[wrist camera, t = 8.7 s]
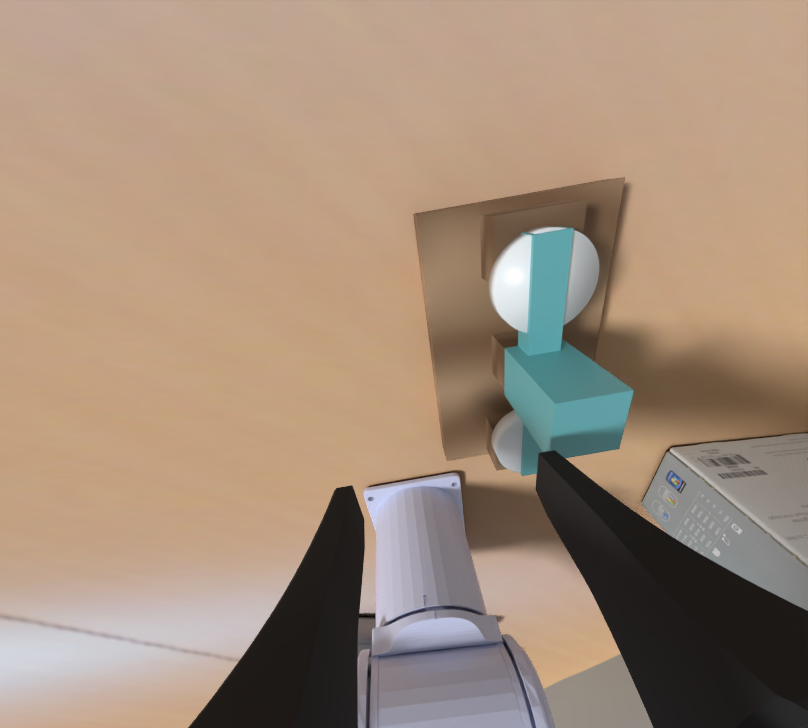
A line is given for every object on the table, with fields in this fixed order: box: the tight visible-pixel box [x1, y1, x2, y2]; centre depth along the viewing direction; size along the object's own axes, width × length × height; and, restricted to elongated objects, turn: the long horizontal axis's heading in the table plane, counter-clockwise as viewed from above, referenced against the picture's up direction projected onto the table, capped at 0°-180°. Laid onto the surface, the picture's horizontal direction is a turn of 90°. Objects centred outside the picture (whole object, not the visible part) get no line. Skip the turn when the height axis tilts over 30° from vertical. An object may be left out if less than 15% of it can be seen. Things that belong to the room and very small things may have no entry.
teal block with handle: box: [488, 226, 634, 476], centre depth 14 cm, size 14×5×5 cm, turn 9°
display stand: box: [414, 177, 625, 470], centre depth 18 cm, size 16×10×4 cm, turn 9°
